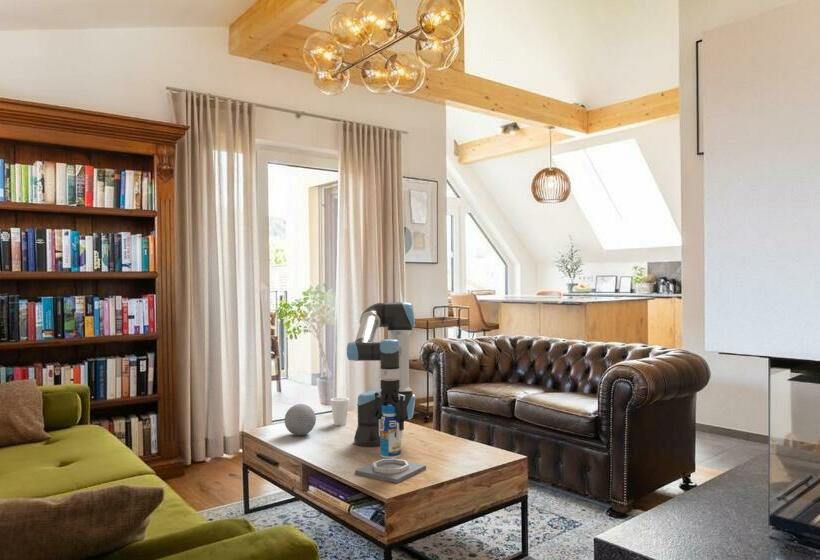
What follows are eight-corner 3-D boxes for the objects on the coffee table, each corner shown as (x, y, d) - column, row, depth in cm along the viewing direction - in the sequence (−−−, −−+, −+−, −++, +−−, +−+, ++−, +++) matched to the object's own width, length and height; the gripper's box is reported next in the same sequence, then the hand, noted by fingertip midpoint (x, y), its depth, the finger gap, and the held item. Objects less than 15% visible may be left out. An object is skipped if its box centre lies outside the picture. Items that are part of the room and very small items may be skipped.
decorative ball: (319, 431, 301) (319, 401, 301) (310, 439, 286) (310, 407, 286) (290, 430, 303) (290, 400, 303) (280, 438, 288) (279, 407, 288)
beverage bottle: (382, 452, 242) (381, 402, 242) (403, 452, 241) (402, 402, 241) (377, 458, 234) (377, 406, 234) (399, 459, 233) (398, 407, 233)
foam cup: (328, 426, 312) (328, 400, 312) (334, 421, 321) (333, 397, 321) (346, 426, 311) (346, 401, 310) (351, 422, 320) (351, 397, 320)
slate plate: (354, 474, 235) (354, 466, 235) (385, 460, 252) (385, 453, 252) (396, 483, 224) (396, 475, 224) (426, 469, 240) (426, 461, 240)
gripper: (363, 378, 240) (363, 435, 241) (406, 382, 229) (407, 443, 229) (374, 375, 247) (375, 431, 247) (417, 379, 235) (418, 438, 235)
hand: (390, 436), depth 238 cm, fingers closed on beverage bottle, 8 cm apart
